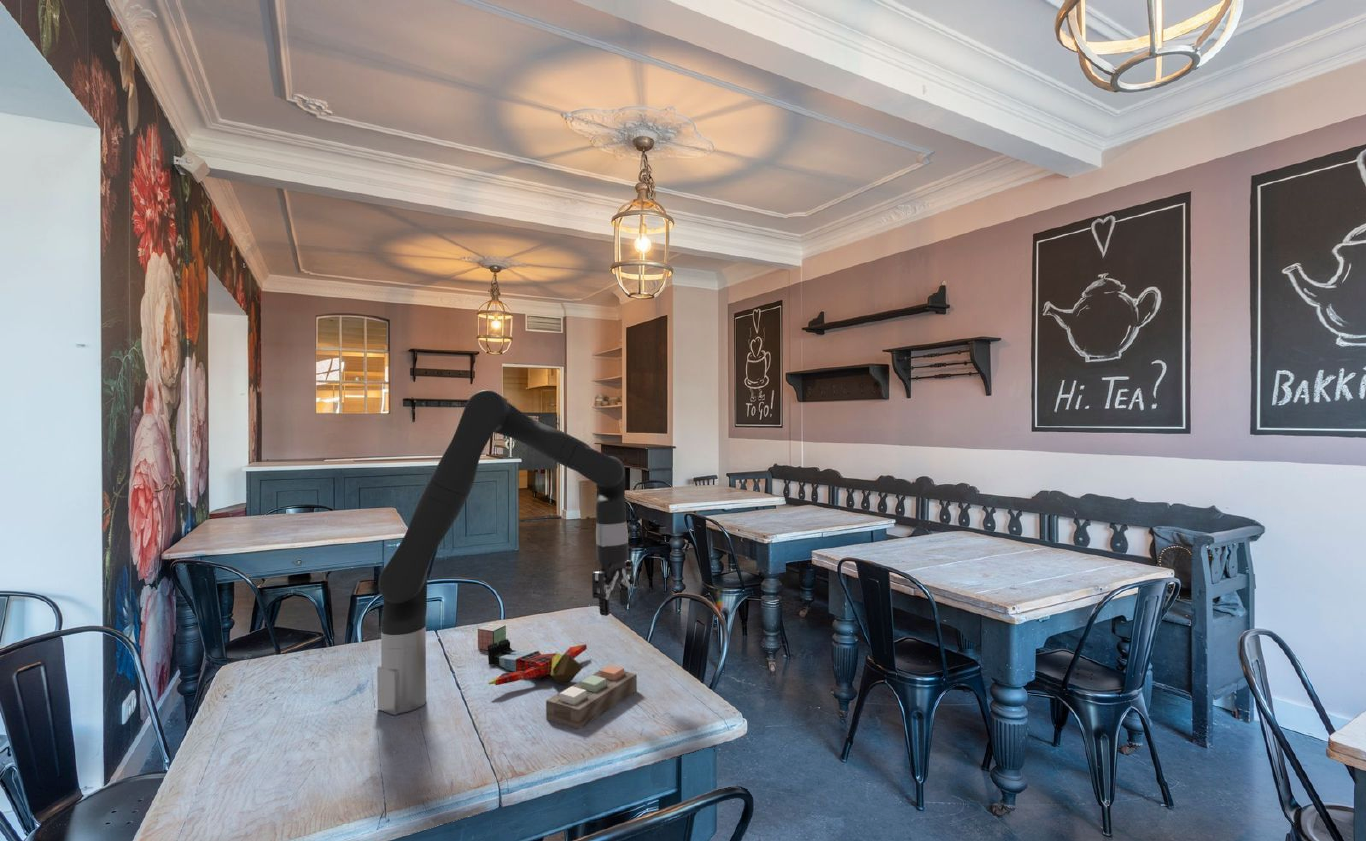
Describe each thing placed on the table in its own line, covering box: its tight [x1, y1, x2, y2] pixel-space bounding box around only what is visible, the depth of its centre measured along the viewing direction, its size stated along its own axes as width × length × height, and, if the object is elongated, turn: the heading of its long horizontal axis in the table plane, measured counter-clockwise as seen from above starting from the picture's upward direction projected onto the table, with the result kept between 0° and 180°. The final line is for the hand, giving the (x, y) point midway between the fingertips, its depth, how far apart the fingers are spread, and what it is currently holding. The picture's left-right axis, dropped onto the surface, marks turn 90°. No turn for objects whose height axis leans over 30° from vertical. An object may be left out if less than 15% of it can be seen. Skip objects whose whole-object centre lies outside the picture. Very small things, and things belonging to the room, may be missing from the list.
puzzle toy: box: [477, 623, 507, 651], centre depth 179 cm, size 6×6×6 cm
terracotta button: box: [599, 664, 625, 681], centre depth 147 cm, size 4×4×3 cm
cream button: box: [559, 685, 586, 705], centre depth 135 cm, size 4×4×3 cm
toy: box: [487, 638, 588, 686], centre depth 159 cm, size 31×8×30 cm
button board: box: [545, 666, 638, 730], centre depth 141 cm, size 21×9×4 cm, turn 150°
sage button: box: [580, 674, 606, 692], centre depth 141 cm, size 4×4×3 cm
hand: (614, 609), depth 148 cm, fingers open, 8 cm apart
